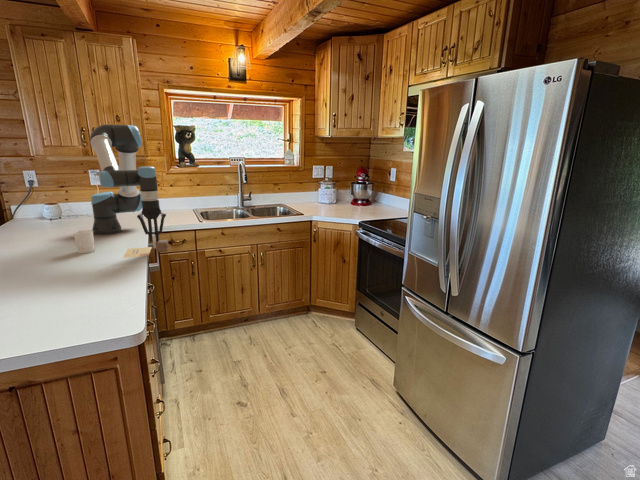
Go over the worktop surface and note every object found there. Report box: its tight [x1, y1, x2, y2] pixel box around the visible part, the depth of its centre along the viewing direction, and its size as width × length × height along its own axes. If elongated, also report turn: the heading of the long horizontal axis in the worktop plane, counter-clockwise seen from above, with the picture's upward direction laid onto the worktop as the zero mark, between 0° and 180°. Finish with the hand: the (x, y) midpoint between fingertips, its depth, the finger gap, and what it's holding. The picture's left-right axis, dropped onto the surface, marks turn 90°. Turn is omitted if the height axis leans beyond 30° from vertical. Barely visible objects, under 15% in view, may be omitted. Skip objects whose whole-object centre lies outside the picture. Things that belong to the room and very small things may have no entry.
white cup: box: [73, 229, 95, 254], centre depth 176 cm, size 8×8×10 cm
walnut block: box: [155, 239, 169, 253], centre depth 178 cm, size 5×5×5 cm
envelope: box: [122, 246, 153, 259], centre depth 175 cm, size 16×11×1 cm
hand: (155, 247), depth 177 cm, fingers closed
